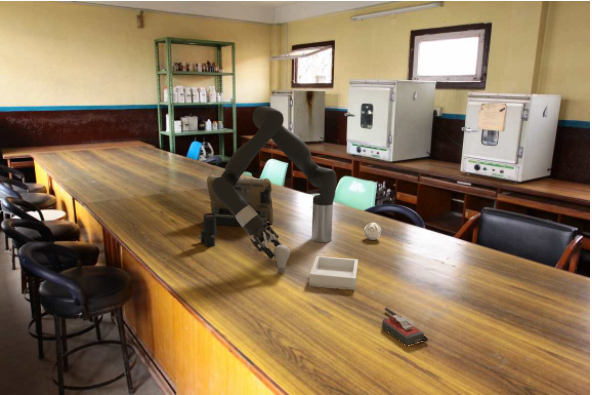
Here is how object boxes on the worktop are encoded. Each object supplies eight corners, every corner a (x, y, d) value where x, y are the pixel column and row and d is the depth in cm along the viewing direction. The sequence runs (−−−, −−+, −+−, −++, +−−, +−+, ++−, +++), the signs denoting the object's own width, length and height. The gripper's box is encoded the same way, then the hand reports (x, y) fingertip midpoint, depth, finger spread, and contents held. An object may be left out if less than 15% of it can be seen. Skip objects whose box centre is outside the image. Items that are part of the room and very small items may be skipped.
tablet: (274, 221, 235) (275, 173, 229) (270, 229, 222) (271, 179, 216) (213, 218, 238) (212, 171, 232) (205, 226, 225) (204, 176, 219)
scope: (214, 210, 201) (222, 215, 193) (214, 239, 205) (222, 246, 196) (196, 212, 197) (203, 218, 189) (196, 242, 201) (204, 249, 192)
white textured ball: (361, 240, 209) (362, 224, 207) (366, 235, 216) (367, 220, 214) (377, 243, 206) (379, 226, 204) (382, 238, 212) (384, 222, 210)
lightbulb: (275, 276, 167) (275, 248, 164) (271, 270, 172) (272, 242, 170) (291, 275, 168) (291, 247, 166) (287, 269, 174) (287, 241, 171)
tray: (316, 266, 177) (316, 255, 176) (357, 270, 174) (358, 259, 173) (309, 285, 160) (309, 274, 159) (354, 290, 157) (355, 278, 156)
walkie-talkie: (433, 342, 126) (387, 311, 143) (435, 328, 125) (388, 298, 142) (409, 350, 122) (365, 317, 139) (410, 335, 121) (366, 304, 138)
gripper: (247, 219, 162) (276, 254, 161) (264, 209, 175) (291, 241, 174) (234, 231, 165) (263, 265, 164) (251, 221, 178) (278, 253, 177)
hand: (277, 253), depth 169 cm, fingers open, 8 cm apart
